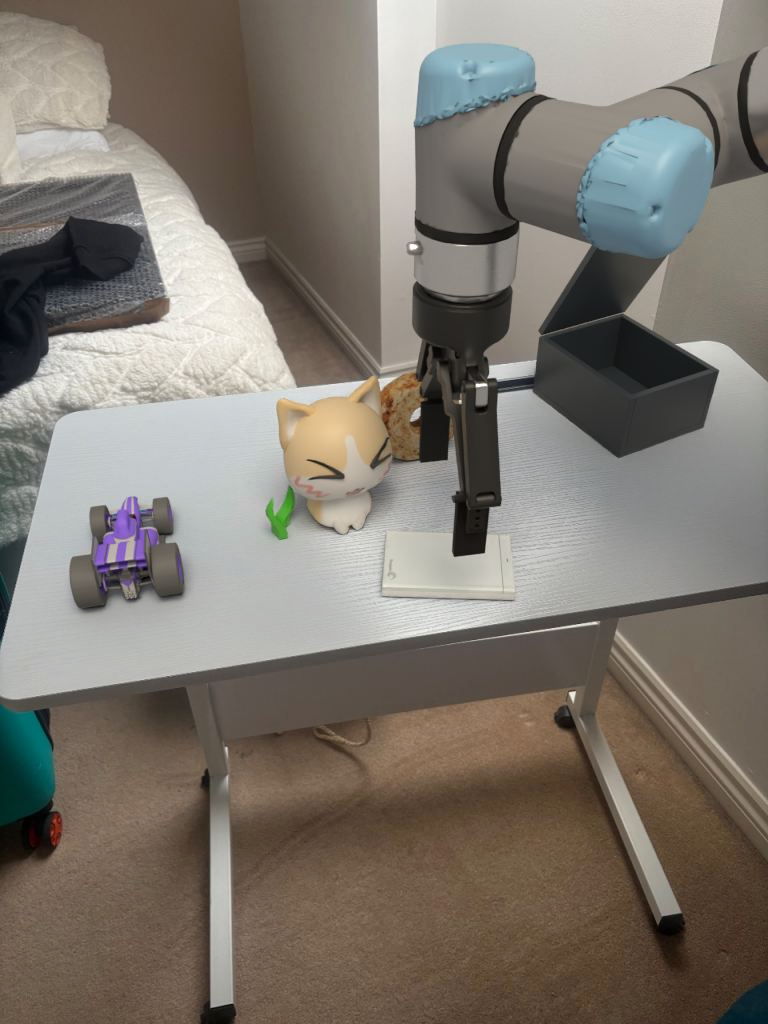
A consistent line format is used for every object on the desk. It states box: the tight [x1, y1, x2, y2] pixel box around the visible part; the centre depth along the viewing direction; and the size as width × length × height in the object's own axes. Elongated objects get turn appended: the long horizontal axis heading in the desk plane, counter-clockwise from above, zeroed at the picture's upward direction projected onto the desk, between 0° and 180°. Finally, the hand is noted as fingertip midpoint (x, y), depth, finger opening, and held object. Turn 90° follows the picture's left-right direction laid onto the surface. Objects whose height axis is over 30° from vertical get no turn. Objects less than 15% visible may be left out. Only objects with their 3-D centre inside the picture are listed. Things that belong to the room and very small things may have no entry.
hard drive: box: [381, 529, 517, 601], centre depth 80 cm, size 2×8×12 cm
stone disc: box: [380, 370, 460, 461], centre depth 93 cm, size 10×4×10 cm, turn 116°
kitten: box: [264, 375, 393, 540], centre depth 82 cm, size 15×10×15 cm
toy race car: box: [68, 495, 185, 609], centre depth 80 cm, size 10×15×6 cm, turn 12°
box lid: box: [538, 244, 669, 336], centre depth 97 cm, size 18×13×8 cm
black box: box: [532, 312, 720, 459], centre depth 100 cm, size 17×13×8 cm
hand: (449, 503), depth 76 cm, fingers open, 13 cm apart
